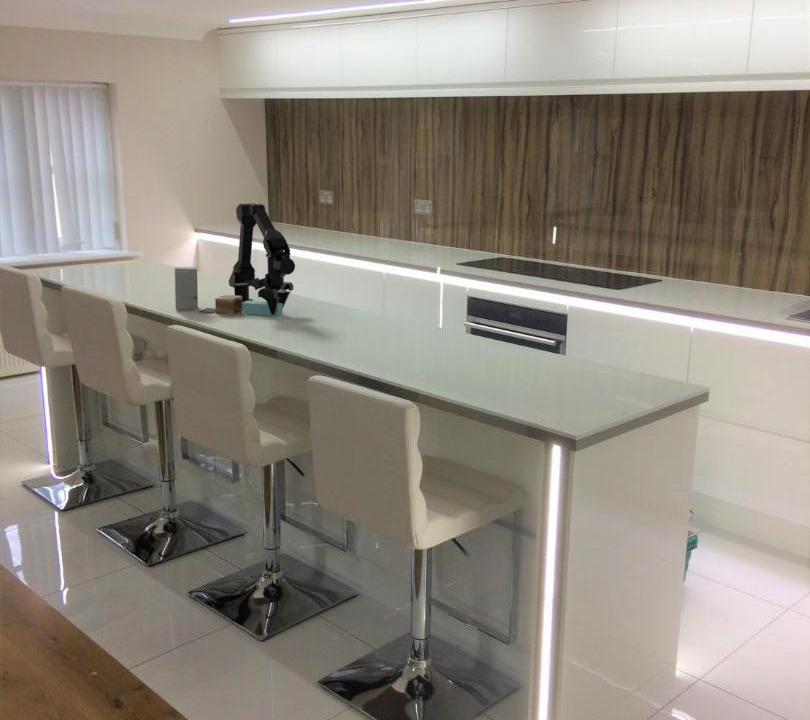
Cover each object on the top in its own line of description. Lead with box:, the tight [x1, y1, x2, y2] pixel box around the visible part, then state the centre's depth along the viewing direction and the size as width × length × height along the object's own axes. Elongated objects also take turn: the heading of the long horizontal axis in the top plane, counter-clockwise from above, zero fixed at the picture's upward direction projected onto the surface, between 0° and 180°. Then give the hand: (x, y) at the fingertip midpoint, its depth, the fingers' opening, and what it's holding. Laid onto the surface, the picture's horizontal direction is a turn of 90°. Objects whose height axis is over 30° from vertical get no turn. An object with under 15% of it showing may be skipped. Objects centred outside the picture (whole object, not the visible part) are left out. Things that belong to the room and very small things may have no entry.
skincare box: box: [174, 266, 199, 311], centre depth 337 cm, size 8×7×16 cm
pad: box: [242, 313, 285, 319], centre depth 329 cm, size 8×13×1 cm, turn 74°
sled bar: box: [242, 300, 284, 316], centre depth 329 cm, size 4×14×4 cm, turn 74°
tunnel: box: [214, 294, 243, 316], centre depth 332 cm, size 8×7×6 cm
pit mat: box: [197, 307, 216, 314], centre depth 335 cm, size 7×6×1 cm
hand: (276, 312), depth 328 cm, fingers open, 6 cm apart
